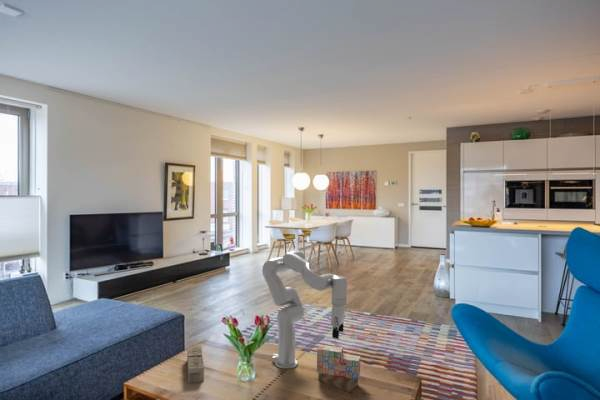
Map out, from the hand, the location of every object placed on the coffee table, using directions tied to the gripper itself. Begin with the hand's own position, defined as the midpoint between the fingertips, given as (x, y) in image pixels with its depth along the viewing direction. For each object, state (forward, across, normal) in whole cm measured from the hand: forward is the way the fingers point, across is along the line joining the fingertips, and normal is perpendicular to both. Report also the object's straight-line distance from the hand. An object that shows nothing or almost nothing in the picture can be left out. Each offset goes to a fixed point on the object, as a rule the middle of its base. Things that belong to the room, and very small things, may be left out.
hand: (337, 334), depth 185 cm
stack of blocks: (+20, 0, +1) cm, 20 cm away
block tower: (+26, +17, -74) cm, 80 cm away
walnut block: (+25, 0, +1) cm, 25 cm away
